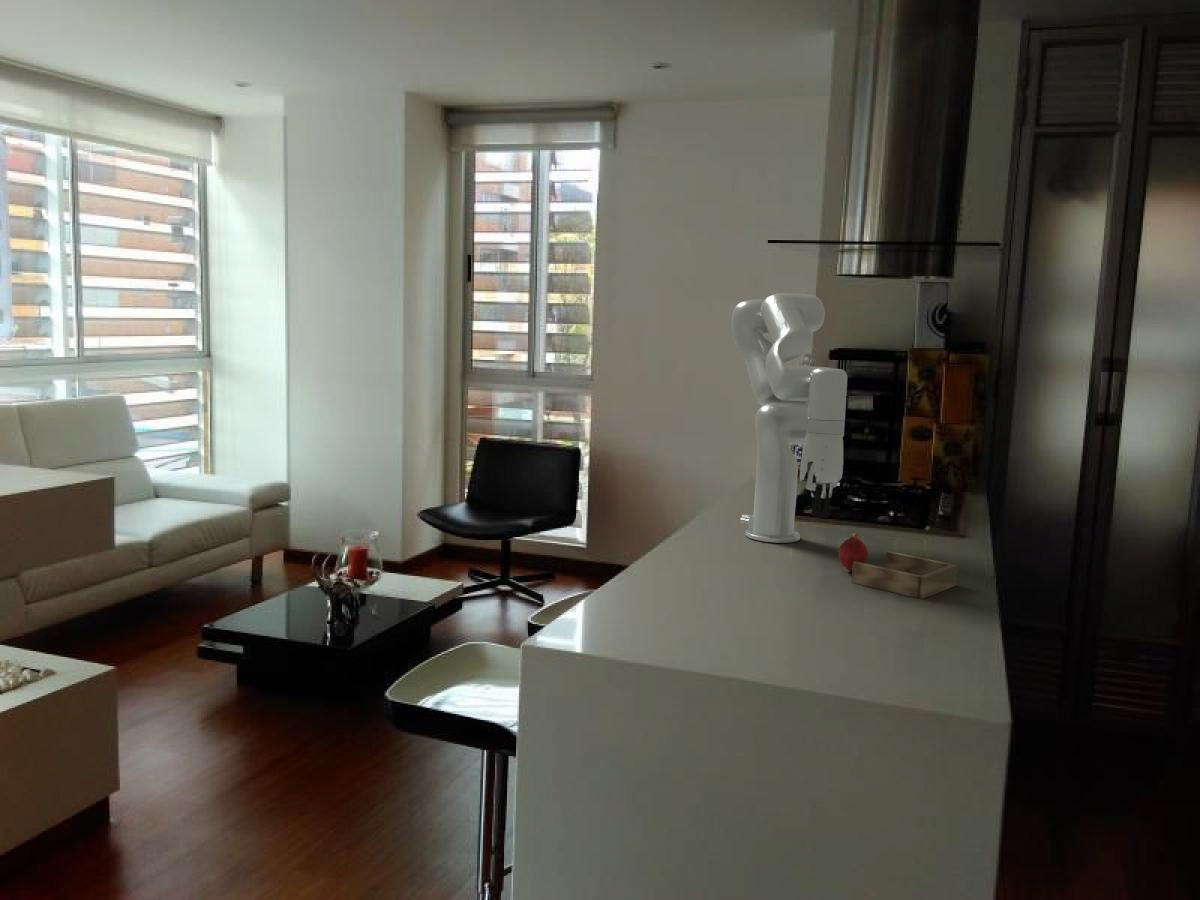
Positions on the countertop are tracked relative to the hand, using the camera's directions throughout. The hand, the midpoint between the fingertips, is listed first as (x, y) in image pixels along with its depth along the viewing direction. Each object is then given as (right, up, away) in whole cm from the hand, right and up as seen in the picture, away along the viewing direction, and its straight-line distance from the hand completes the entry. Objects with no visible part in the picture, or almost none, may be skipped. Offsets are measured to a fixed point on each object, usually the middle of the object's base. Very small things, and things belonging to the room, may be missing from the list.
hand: (820, 516), depth 199 cm
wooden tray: (+14, -12, -11) cm, 21 cm away
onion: (+6, -11, -3) cm, 13 cm away
